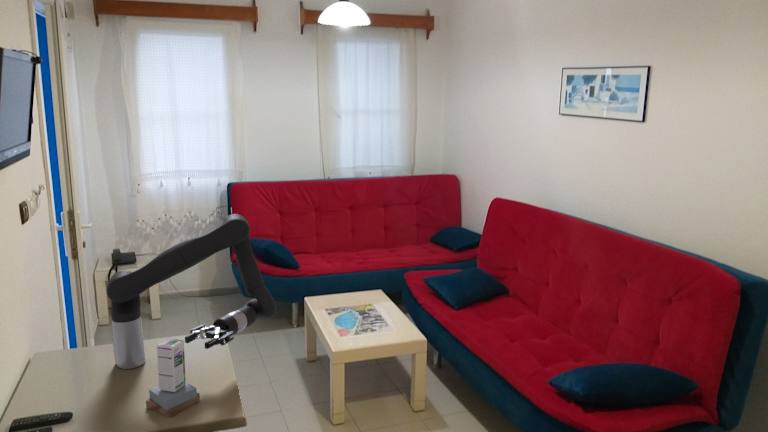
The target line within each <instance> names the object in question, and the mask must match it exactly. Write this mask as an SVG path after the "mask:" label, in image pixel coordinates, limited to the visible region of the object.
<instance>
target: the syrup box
mask: <svg viewBox="0 0 768 432" xmlns="http://www.w3.org/2000/svg"><path fill="white" fill-rule="evenodd" d="M156 354H157V355H156V357H157V377H158V379H157V381H158V385H159V389H160V390H164V391H170V392H176V390H178V389H179V388H181V387H182V386H184V385H185V384H186V382H187V381H186V365H185V364H186V363H185V362H186V361H185V340H182V339H177V338H167V339H166V340H164V341H162V342H160V343H159V344H157V345H156Z"/></svg>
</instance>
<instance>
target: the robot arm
mask: <svg viewBox="0 0 768 432" xmlns="http://www.w3.org/2000/svg"><path fill="white" fill-rule="evenodd" d="M250 231H251V230H250V224H249V222H248V220H247V218H246V217H244V216H243V215H242V214H238V213H232V214H229V215H227V216H226V217H225V218H224V220H223V222H222V225H219V226H218V227H217V228H215V229H213V230H212V231H210V232H209V233H206V234H203V235H201V236H197V237H193V238H190V239H187V240H184V241H181V242H179V243H177V244H174V245H173V246H171V247H169V248H167V249H165V250H163V251H162V252H161V253H159V254H158V255H157V256H156V257H154V258H152V260H150V261H149V262H148V263H146V264H145V265H143V266H142V267H141V268H139V269H137V270H134V271H129V270H125V269H124V270H119V271H116V272H115V273H113V275H112V276H111V277H110V278H109V281H108V284H107V287H106V295H107V298H108V299H109V300H110V301H111V302H110V303H111V305H110V306H111V309H110V310H111V311H110V314H111V315H110V317H111V323H112V324H111V325H112V333H113V337H112V345H113V346H112V347H113V354H114V364H115V365H116V367H118V368H119V369H123V370H132V369H134V368H139V367H141V366H142V365H144V364H145V362H146V351H145V343H144V333H143V324H142V315H141V295H140V294H142V293H143V292H145V291H147V290H148V289H150V288H151V287H153V286H156V285H157V284H159V283H162V282H164V281H166V280H168V279H170V278H172V277H174V276H176V275H178V274H180V273H183V272H185V271H187V270H189V269H191V268H192V267H194V266H196V265H197V264H199V263H201V262H203V261H205V260H206V259H208V258H210V257H212V256H213V255H215V254H216V253H219V252H222V251H223V250H226V249H228V248H232V249H233V252H234V255H235V258H236V262H237V267H238V270H239V274H240V277H241V280H242V284H243V288H244V289H245V293H246V294H247V295H248V296H249V297H253V299H250V300H248V301H247V302H246V303H245V304H244V305H243V306H241V307H240V308H239V309H236V310H233V311H230V312H229V313H226V314H225V315H222V316H220V317H219V318H217V319H215V320H214V322H213V324H212V325H208V326H206V324H205V323H202V324H199V325H198V326H195V327H193V328H190V330H189V331H190V333H189V334H188V335H186V336H185V337H184V344H185V343H186V344H189V343H191V342H193V341H195V340H198V339H201V340H206V341H205V342H204V349H205V350H208V349H210V348H212V347H214V346H219V345H220V347H221V346H222V347H223V346H225V345H227V344H229V342H231V341H233V340H234V339H235V335H237V334H239V333H241V332H242V331H243V330H245V329H246V328H248V327H251V326H252V325H253V324H254V323H256V321H257V318H258V319H259V318H260V319H266V318H267V319H268V318H269V319H270V318H272V317H273V316H274V315H275V314H276V311H277V305H276V301H275V299H274V297H273V296H272V294H271V292H270V291H269V289H268V288H267V287H266V285H265V281H264V279H263V276H262V275H263V274H262V273H261V269H260V267H259V264H258V262H257V259H256V257H255V254H254V251H253V248H252V245H251V239H250ZM207 339H209V340H207Z"/></svg>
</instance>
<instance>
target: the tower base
mask: <svg viewBox="0 0 768 432" xmlns="http://www.w3.org/2000/svg"><path fill="white" fill-rule="evenodd" d="M199 401H201V396H200V392H197V397H195V398H193V399H191V400H188V401H186V402H184V403H182V404H179V405H177V406H175V407H173V408H170V409H168V410H166V409H164V408H163V407H162V406H160V405H159V404H157V403H156V402H155V401H153V400H152V399H150V398H148V399H146V400H145V404H146V405H145V406H146V408H148V409H149V410H152V411H155V412H156V413H159V414H161V415H164V416H168V418H169V417H170V418H173V417H175V416H177V415H178V414H180V413H181V412H183V411H185V410H186V409H188V408H189V407H191V406H194V404H196V403H198V402H199Z"/></svg>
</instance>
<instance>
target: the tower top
mask: <svg viewBox="0 0 768 432" xmlns="http://www.w3.org/2000/svg"><path fill="white" fill-rule="evenodd" d="M148 393H149V399H152V400H153V401H155V402H156V403H157V404H159V405H160V406H162V407H163V408H164V409H166V410H168V409H170V408H173V407H175V406H177V405H179V404H182V403H184V402H186V401H188V400H191V399H193V398H195V397H197V393H198V392H197V387H195V386H193V385H192V384H191V383H190V382H187V381H186V384H185V385H184V386H182V387H181V388H179V389H178V390H176V392H170V391H164V390H160V389H159V384H158V385H156V386H154V387H152V388H149V389H148Z"/></svg>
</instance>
